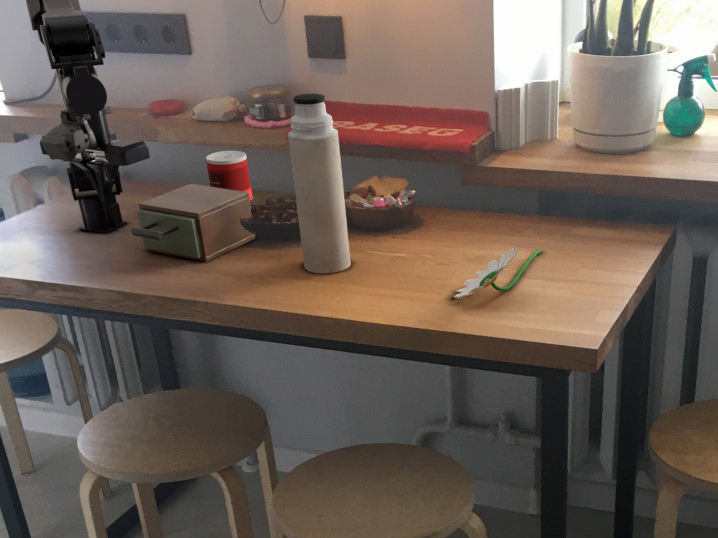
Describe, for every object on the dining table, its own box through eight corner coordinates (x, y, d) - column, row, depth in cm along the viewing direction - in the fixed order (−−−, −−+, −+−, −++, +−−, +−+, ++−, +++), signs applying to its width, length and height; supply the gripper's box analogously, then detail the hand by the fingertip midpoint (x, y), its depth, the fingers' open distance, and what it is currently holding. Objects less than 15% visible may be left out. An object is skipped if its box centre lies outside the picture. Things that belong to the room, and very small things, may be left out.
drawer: (177, 268, 173) (170, 229, 169) (123, 257, 178) (115, 219, 174) (244, 237, 186) (238, 200, 182) (192, 228, 191) (185, 192, 187)
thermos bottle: (317, 255, 180) (298, 88, 164) (358, 260, 177) (342, 91, 162) (296, 270, 173) (274, 99, 158) (337, 275, 171) (319, 101, 156)
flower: (562, 219, 176) (498, 255, 151) (576, 247, 177) (515, 288, 152) (501, 253, 182) (430, 293, 157) (515, 280, 183) (448, 324, 158)
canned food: (259, 206, 205) (251, 150, 199) (247, 218, 198) (238, 161, 192) (222, 205, 205) (213, 150, 199) (209, 217, 199) (199, 160, 193)
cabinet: (206, 261, 178) (198, 213, 173) (148, 250, 183) (138, 203, 178) (255, 238, 188) (248, 192, 183) (198, 228, 193) (190, 183, 188)
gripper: (1, 107, 158) (27, 206, 166) (88, 118, 151) (111, 221, 159) (56, 93, 166) (79, 188, 175) (142, 103, 159) (161, 202, 167)
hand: (105, 200), depth 169 cm, fingers closed
